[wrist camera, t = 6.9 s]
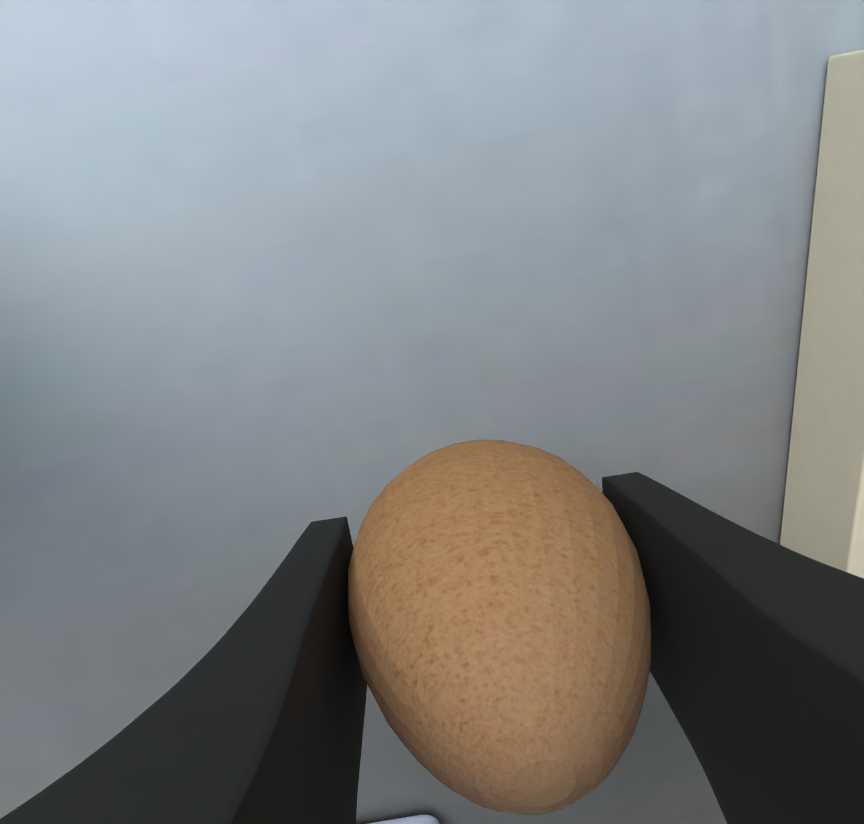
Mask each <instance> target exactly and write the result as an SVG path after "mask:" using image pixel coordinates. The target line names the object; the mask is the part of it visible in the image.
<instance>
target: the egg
mask: <svg viewBox="0 0 864 824" xmlns="http://www.w3.org/2000/svg"><path fill="white" fill-rule="evenodd" d="M348 613H349V625H350V629H351V633H352V637H353V642H354V646H355V649H356V653H357V656H358V660H359V663H360V667H361V670H362V673H363V676H364V678H365V680H366V682H367V684H368V686H369V688H370V690H371V692H372V694H373V695H374V697H375V699H376V701H377V703H378V705H379V707H380V709H381V711H382V713H383V715H384V717H385V719H386V721H387V722H388V724H389V725H390V727H391V728H392V729H393V731H394V732H395V733H396V735H397V736H398V737H399V739H400V740H401V741H402V742H403V744H404V745H405V746H406V748H407V749H408V750H409V751H410V752H411V753H412V755H413V756H414V757H415V758H416V759H417V760H418V761H419V762H420V763H421V764H422V765H423V766H424V767H425V768H426V769H427V770H428V771H429V772H430V773H431V774H432V775H433V776H434V777H436V778H437V779H438V780H439V781H440V782H442V783H443V784H444V785H446V786H447V787H449V788H450V789H451V790H453V791H455V792H456V793H458V794H460V795H461V796H463V797H465V798H466V799H468V800H470V801H472V802H474V803H476V804H478V805H480V806H482V807H485V808H488V809H492V810H496V811H500V812H507V813H514V814H523V815H532V814H542V813H548V812H552V811H555V810H559V809H562V808H564V807H566V806H568V805H570V804H572V803H574V802H576V801H577V800H579V799H580V798H582V797H583V796H585V795H586V794H587V793H589V792H590V791H592V790H593V789H594V788H595V787H597V786H598V785H599V784H600V783H601V782H602V781H603V780H604V779H605V778H606V777H607V776H608V775H609V773H610V772H611V771H612V770H613V768H614V767H615V765H616V764H617V762H618V760H619V759H620V757H621V756H622V754H623V752H624V751H625V749H626V747H627V745H628V743H629V741H630V739H631V737H632V735H633V733H634V730H635V727H636V724H637V721H638V718H639V715H640V713H641V710H642V706H643V702H644V698H645V694H646V689H647V683H648V676H649V670H650V664H651V618H650V603H649V598H648V594H647V590H646V585H645V581H644V576H643V572H642V568H641V564H640V560H639V557H638V553H637V550H636V548H635V546H634V544H633V542H632V540H631V538H630V537H629V535H628V533H627V531H626V529H625V527H624V525H623V523H622V521H621V519H620V518H619V516H618V514H617V512H616V510H615V508H614V507H613V505H612V503H611V502H610V501H609V500H608V499H607V498H606V497H605V496H604V495H603V493H602V492H601V491H600V490H599V489H598V488H597V487H596V486H595V485H594V484H593V483H592V482H591V481H590V480H588V479H587V478H586V477H585V476H584V475H583V474H582V473H581V472H579V471H578V470H577V469H575V468H574V467H572V466H571V465H570V464H568V463H567V462H565V461H564V460H562V459H561V458H560V457H557V456H555V455H553V454H550V453H548V452H546V451H543V450H541V449H539V448H536V447H531V446H527V445H522V444H517V443H512V442H508V441H503V440H475V441H468V442H462V443H456V444H453V445H450V446H447V447H444V448H441V449H438V450H435V451H433V452H431V453H430V454H428V455H426V456H424V457H422V458H421V459H419V460H417V461H415V462H414V463H413V464H411V465H410V466H409V467H408V468H407V469H405V470H404V471H403V472H402V473H401V474H399V475H398V476H397V477H396V478H395V479H393V480H392V481H391V482H390V483H389V484H388V485H387V486H386V487H385V489H384V490H383V491H382V492H381V493H380V495H379V496H378V497H377V498H376V500H375V501H374V502H373V503H372V505H371V507H370V509H369V511H368V513H367V515H366V517H365V519H364V521H363V523H362V525H361V528H360V530H359V533H358V536H357V539H356V542H355V544H354V548H353V552H352V556H351V560H350V564H349V568H348Z"/></svg>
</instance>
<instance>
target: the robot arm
mask: <svg viewBox="0 0 864 824" xmlns="http://www.w3.org/2000/svg"><path fill="white" fill-rule="evenodd" d="M602 486H603V495H604V496H605V497H606V498H607V499H608V500H609V501H610V502H611V503H612V505H613V507H614V508H615V510H616V512H617V514H618V516H619V518H620V519H621V521H622V523H623V525H624V527H625V529H626V531H627V533H628V535H629V537H630V538H631V540H632V542H633V544H634V546H635V548H636V550H637V553H638V557H639V560H640V564H641V568H642V572H643V576H644V581H645V585H646V590H647V594H648V598H649V603H650V618H651V664H650V672H651V673H652V675H653V677H654V679H655V680H656V682H657V684H658V686H659V688H660V689H661V691H662V693H663V695H664V697H665V698H666V700H667V702H668V704H669V705H670V707H671V709H672V711H673V713H674V714H675V716H676V718H677V720H678V722H679V723H680V725H681V727H682V729H683V730H684V732H685V734H686V736H687V738H688V739H689V741H690V743H691V745H692V747H693V749H694V751H695V753H696V755H697V757H698V759H699V761H700V763H701V765H702V767H703V769H704V771H705V773H706V776H707V778H708V780H709V782H710V785H711V787H712V789H713V792H714V794H715V796H716V798H717V801H718V803H719V805H720V808H721V810H722V812H723V814H724V817H725V819H726V821H727V824H864V578H861V577H858V576H856V575H853V574H850V573H848V572H845V571H842V570H840V569H837V568H834V567H832V566H829V565H826V564H824V563H821V562H819V561H816V560H814V559H811V558H809V557H806V556H804V555H802V554H799V553H797V552H795V551H792V550H790V549H788V548H786V547H784V546H781V545H779V544H777V543H775V542H773V541H771V540H768V539H766V538H764V537H762V536H760V535H757V534H755V533H753V532H751V531H749V530H747V529H745V528H743V527H741V526H739V525H737V524H735V523H733V522H731V521H729V520H727V519H725V518H723V517H721V516H720V515H718V514H716V513H714V512H712V511H710V510H708V509H706V508H704V507H703V506H701V505H699V504H697V503H695V502H693V501H691V500H690V499H688V498H686V497H684V496H682V495H680V494H679V493H677V492H675V491H673V490H671V489H669V488H668V487H666V486H664V485H662V484H660V483H658V482H656V481H655V480H653V479H651V478H649V477H647V476H645V475H642V474H640V473H638V472H635V473H628V474H622V475H615V476H609V477H602ZM352 552H353V544H352V540H351V535H350V530H349V526H348V521H347V517H341V518H334V519H328V520H321V521H315V522H311V523H310V524H309V526H308V527H307V528H306V530H305V531H304V532H303V534H302V535H301V536H300V538H299V539H298V541H297V542H296V543H295V545H294V546H293V548H292V549H291V551H290V552H289V553H288V555H287V556H286V558H285V559H284V560H283V562H282V563H281V565H280V566H279V567H278V569H277V570H276V572H275V573H274V574H273V575H272V577H271V578H270V579H269V581H268V582H267V583H266V585H265V586H264V587H263V589H262V590H261V591H260V593H259V594H258V595H257V597H256V598H255V599H254V600H253V602H252V603H251V604H250V605H249V607H248V608H247V609H246V610H245V611H244V613H243V614H242V615H241V616H240V617H239V618H238V620H237V621H236V622H235V623H234V624H233V626H232V627H231V628H230V629H229V630H228V631H227V633H226V634H225V635H224V636H223V637H222V638H221V639H220V640H219V641H218V643H217V644H216V645H215V646H214V647H213V648H212V649H211V650H210V651H209V652H208V653H207V654H206V655H205V656H204V657H203V658H202V659H201V660H200V661H199V662H198V663H197V664H196V665H195V666H194V667H193V668H192V669H191V670H190V671H189V672H188V673H187V674H186V675H185V676H184V677H183V678H182V679H181V680H180V681H179V682H178V683H177V684H176V685H174V686H173V687H172V688H171V689H170V690H169V691H168V692H167V693H166V694H165V695H163V696H162V697H161V698H160V699H159V700H157V701H156V702H155V703H154V704H153V705H152V706H150V707H149V708H148V709H147V710H146V711H145V712H143V713H142V714H141V715H140V716H139V717H137V718H136V719H135V720H134V721H133V722H132V723H130V724H129V725H128V726H127V727H126V728H124V729H123V730H122V731H121V732H120V733H119V734H117V735H116V736H115V737H114V738H113V739H111V740H110V741H109V742H108V743H106V744H105V745H104V746H102V747H101V748H100V749H98V750H97V751H96V752H94V753H93V754H92V755H91V756H89V757H88V758H87V759H85V760H84V761H83V762H81V763H80V764H79V765H77V766H76V767H75V768H73V769H72V770H71V771H69V772H68V773H66V774H65V775H64V776H62V777H61V778H59V779H58V780H57V781H55V782H54V783H52V784H51V785H50V786H48V787H47V788H45V789H44V790H43V791H41V792H40V793H38V794H37V795H36V796H34V797H33V798H31V799H30V800H28V801H27V802H25V803H24V804H22V805H21V806H19V807H18V808H17V809H15V810H14V811H12V812H10V813H9V814H7V815H6V816H4V817H3V818H1V819H0V824H356V808H357V791H358V780H359V769H360V758H361V747H362V736H363V725H364V714H365V703H366V691H367V682H366V680H365V678H364V676H363V673H362V670H361V667H360V663H359V660H358V656H357V653H356V649H355V646H354V642H353V637H352V633H351V629H350V625H349V613H348V568H349V564H350V560H351V556H352ZM367 824H440V823H439V821H438V819H436V818H435V817H433V816H431V815H416V816H410V817H404V818H397V819H391V820H385V821H379V822H373V823H367Z"/></svg>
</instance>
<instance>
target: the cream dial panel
mask: <svg viewBox="0 0 864 824" xmlns="http://www.w3.org/2000/svg"><path fill="white" fill-rule="evenodd" d="M780 545H781V546H784V547H786V548H788V549H790V550H792V551H795V552H797V553H799V554H802V555H804V556H806V557H809V558H811V559H814V560H816V561H819V562H821V563H824V564H826V565H829V566H832V567H834V568H837V569H840V570H842V571H845V572H848V573H850V574H853V575H856V576H858V577H861V578H864V49H861V50H856V51H851V52H846V53H841V54H836V55H832V56H831V57H829V59H828V65H827V75H826V85H825V95H824V105H823V115H822V125H821V136H820V146H819V156H818V166H817V176H816V186H815V196H814V206H813V216H812V226H811V236H810V246H809V256H808V266H807V276H806V286H805V296H804V306H803V316H802V326H801V336H800V346H799V356H798V366H797V376H796V386H795V396H794V406H793V416H792V426H791V436H790V446H789V456H788V467H787V477H786V487H785V497H784V507H783V517H782V527H781V537H780Z"/></svg>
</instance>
